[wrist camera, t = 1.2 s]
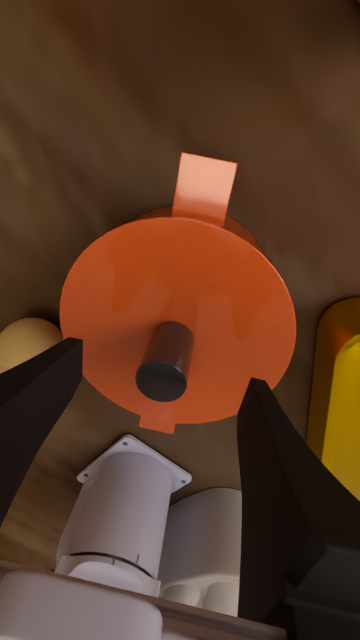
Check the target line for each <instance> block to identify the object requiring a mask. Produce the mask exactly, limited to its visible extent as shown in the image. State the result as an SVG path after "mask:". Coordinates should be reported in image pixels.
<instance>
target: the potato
mask: <svg viewBox="0 0 360 640" xmlns="http://www.w3.org/2000/svg"><path fill="white" fill-rule="evenodd" d="M62 340H64V339H63V335H62V332H61V331H60V330H59V329H58V328H57V327H56V326H55V325H54V324H52V323H51V322H49V321H46V320H44V319H40V318H25V319H21V320H18V321H16V322H14V323H12V324H10V325H9V326H7V327H6V328H5V329H4V330H3V331H2V333H1V334H0V373H2V372H5V371H7V370H9V369H11V368H13V367H15V366H17V365H19V364H21V363H23V362H25V361H27V360H29V359H31V358H32V357H34V356H36V355H38V354H40V353H41V352H43V351H45V350H47V349H49V348H50V347H52V346H54V345H55V344H57V343H59V342H61V341H62Z"/></svg>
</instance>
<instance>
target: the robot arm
mask: <svg viewBox="0 0 360 640" xmlns="http://www.w3.org/2000/svg"><path fill="white" fill-rule="evenodd" d="M82 370H83V340H81V339H77V338H72V337H68V338H66V339H64V340H62V341H61V342H59V343H57V344H55V345H54V346H52V347H50V348H49V349H47V350H45V351H43V352H41V353H40V354H38V355H36V356H34V357H32V358H31V359H29V360H27V361H25V362H23V363H21V364H19V365H17V366H15V367H13V368H11V369H9V370H7V371H5V372H2V373H0V526H1V524H2V522H3V520H4V518H5V516H6V514H7V512H8V509H9V507H10V505H11V503H12V501H13V499H14V497H15V495H16V493H17V491H18V489H19V487H20V485H21V483H22V481H23V479H24V477H25V475H26V473H27V471H28V469H29V467H30V465H31V463H32V461H33V459H34V458H35V456H36V454H37V452H38V450H39V448H40V447H41V445H42V443H43V442H44V440H45V439H46V437H47V436H48V434H49V433H50V431H51V430H52V428H53V427H54V425H55V423H56V422H57V420H58V419H59V417H60V416H61V414H62V413H63V411H64V410H65V408H66V407H67V405H68V404H69V402H70V401H71V399H72V397H73V395H74V393H75V391H76V389H77V387H78V385H79V383H80V381H81V379H82ZM237 442H238V454H239V465H240V477H241V490H242V526H241V558H240V580H239V597H238V614H237V617H235V616H230V615H226V614H222V613H218V612H214V611H210V610H206V609H202V608H198V607H194V606H190V605H185V604H181V603H177V602H173V601H169V600H166V599H164V598H159V591H160V584H161V581H160V580H157V576H158V570H159V563H160V557H161V551H162V545H163V539H164V532H165V526H166V520H167V514H168V507H169V501H170V495H171V493H173V492H175V491H176V490H178V489H179V488H181V487H183V486H184V485H186V484H188V483H189V482H191V480H192V476H191V475H190V474H189V473H188V472H186V471H185V470H183V469H182V468H180V467H179V466H177V465H176V464H174V463H173V462H171V461H169V460H168V459H166V458H165V457H163V456H162V455H160V454H159V453H157V452H156V451H154V450H153V449H151V448H150V447H148V446H147V445H145V444H144V443H142V442H141V441H139V440H138V439H136V438H135V437H133V436H132V435H129V434H126V435H124V436H123V437H122V438H121V439H119V440H118V441H117V442H116V443H115V444H113V445H112V446H111V447H110V448H109V449H107V450H106V451H105V452H104V453H103V454H102V455H100V456H99V457H98V458H97V459H96V460H94V461H93V462H92V463H91V464H90V465H88V466H87V467H86V468H85V469H84V470H82V471H81V472H80V473H79V474H78V476H77V480H78V481H80V482H81V483H83V487H82V489H81V491H80V494H79V496H78V498H77V501H76V503H75V505H74V508H73V510H72V512H71V515H70V517H69V519H68V522H67V524H66V526H65V529H64V531H63V534H62V536H61V538H60V541H59V544H58V548H57V554H56V564H57V565H56V568H55V569H53V568H50V567H47V568H45V569H44V570H42V569H38V568H34V567H30V566H26V565H22V564H18V563H14V562H10V561H5V560H1V559H0V640H360V501H359V500H358V499H357V498H356V497H355V496H354V495H353V494H352V493H351V492H350V491H349V490H348V489H346V488H345V487H344V486H343V484H342V483H341V482H340V481H339V480H338V479H337V478H336V477H335V476H334V475H333V474H332V473H331V472H330V471H329V470H328V469H327V468H326V467H325V465H324V464H323V463H322V462H321V461H320V460H319V458H318V457H317V456H316V455H315V454H314V452H313V451H312V450H311V449H310V448H309V446H308V445H307V444H306V443H305V441H304V440H303V438H302V437H301V436H300V434H299V433H298V432H297V430H296V429H295V427H294V426H293V424H292V423H291V421H290V420H289V418H288V417H287V415H286V414H285V412H284V411H283V409H282V407H281V406H280V404H279V402H278V401H277V399H276V397H275V396H274V394H273V392H272V390H271V389H270V387H269V385H268V384H267V382H266V380H262V379H257V378H253V377H251V379H250V381H249V384H248V387H247V389H246V392H245V395H244V397H243V400H242V403H241V405H240V408H239V411H238V421H237Z"/></svg>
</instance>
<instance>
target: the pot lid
mask: <svg viewBox="0 0 360 640" xmlns="http://www.w3.org/2000/svg"><path fill="white" fill-rule="evenodd" d="M59 316H60V326H61V331H62V335H63V339H66V338H68V337H72V338H77V339H81V340H83V370H82V375H83V376H84V377H85V378H86V379H87V380H88V382H89V383H90V384H91V385H92V386H93V387H95V388H96V389H97V390H98V391H99V392H100V393H101V394H103V395H104V396H105V397H107V398H108V399H109V400H111V401H112V402H114V403H116V404H117V405H119V406H120V407H122V408H124V409H127V410H129V411H131V412H133V413H135V414H138V415H141V416H143V417H146V418H150V419H154V420H157V421H163V422H168V423H179V424H198V423H207V422H212V421H217V420H221V419H225V418H228V417H231V416H234V415H236V414H238V411H239V408H240V405H241V403H242V400H243V397H244V395H245V392H246V389H247V387H248V384H249V381H250V379H251V377H253V378H257V379H262V380H266V382H267V384H268V385H269V387H270V389H271V390H272V389H273V388H274V387H275V386H276V385H277V383H278V382H279V381H280V379H281V378H282V377H283V375H284V373H285V371H286V369H287V367H288V365H289V363H290V360H291V357H292V355H293V352H294V347H295V341H296V317H295V309H294V306H293V303H292V299H291V296H290V293H289V291H288V289H287V287H286V285H285V283H284V281H283V279H282V277H281V275H280V274H279V272H278V271H277V269H276V268H275V266H274V265H273V263H272V262H271V261H270V260H269V259H268V258H267V257H266V256H265V255H264V254H263V252H262V251H261V250H259V249H258V248H257V247H256V246H254V245H253V244H252V243H251V242H250V241H248V240H247V239H245V238H244V237H242V236H241V235H239V234H237V233H236V232H234V231H232V230H230V229H228V228H226V227H223V226H221V225H219V224H216V223H214V222H210V221H206V220H203V219H199V218H194V217H187V216H180V215H159V216H152V217H145V218H141V219H137V220H134V221H130V222H127V223H125V224H122V225H120V226H118V227H116V228H114V229H112V230H110V231H108V232H107V233H105V234H104V235H102V236H101V237H99V238H98V239H96V240H95V241H94V242H93V243H92V244H91V245H89V246H88V247H87V248H86V249H85V250H84V251H83V252H82V254H81V255H80V256H79V257H78V259H77V260H76V261H75V262H74V264H73V266H72V268H71V269H70V271H69V273H68V275H67V277H66V280H65V283H64V285H63V289H62V294H61V299H60V312H59Z"/></svg>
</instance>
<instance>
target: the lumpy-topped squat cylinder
mask: <svg viewBox="0 0 360 640" xmlns="http://www.w3.org/2000/svg"><path fill="white" fill-rule="evenodd" d="M241 526H242V492H241V491H238V490H236V489H231V488H211V489H207V490H204V491H201V492H199V493H196V494H193V495H191V496H188V497H186V498H184V499H182V500H180V501H178V502H177V503H175V504H173V505H172V506H170V507H169V508H168V514H167V520H166V526H165V532H164V539H163V545H162V551H161V557H160V563H159V570H158V576H157V580H160V581H161V584H160V591H159V598H164V599H166V600H169V601H173V602H177V603H181V604H185V605H190V606H194V607H198V608H202V609H206V610H210V611H214V612H218V613H222V614H226V615H230V616H235V617H237V614H238V597H239V580H240V558H241Z"/></svg>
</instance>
